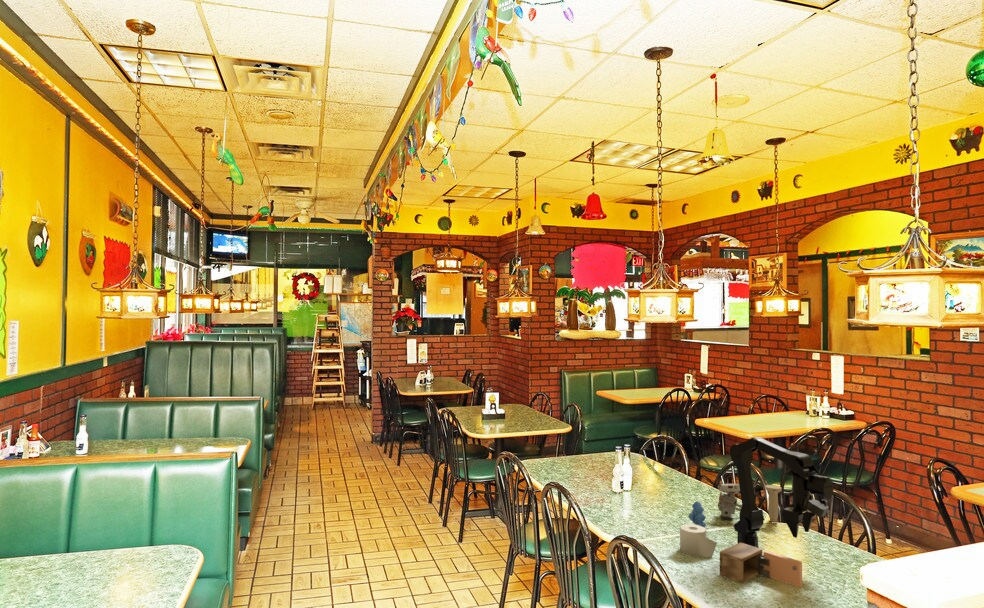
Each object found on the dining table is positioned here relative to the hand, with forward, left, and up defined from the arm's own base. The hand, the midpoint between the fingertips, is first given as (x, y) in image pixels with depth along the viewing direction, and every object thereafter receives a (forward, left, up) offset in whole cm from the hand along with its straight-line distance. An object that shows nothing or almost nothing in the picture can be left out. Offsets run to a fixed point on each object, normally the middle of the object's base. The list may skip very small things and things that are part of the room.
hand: (801, 534), depth 212 cm
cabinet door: (0, -15, -12) cm, 19 cm away
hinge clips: (-5, -14, -12) cm, 20 cm away
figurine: (-44, +32, -12) cm, 56 cm away
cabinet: (-11, -21, -12) cm, 27 cm away
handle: (-30, +42, -12) cm, 53 cm away
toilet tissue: (-32, -16, -12) cm, 37 cm away
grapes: (-44, +4, -12) cm, 46 cm away
